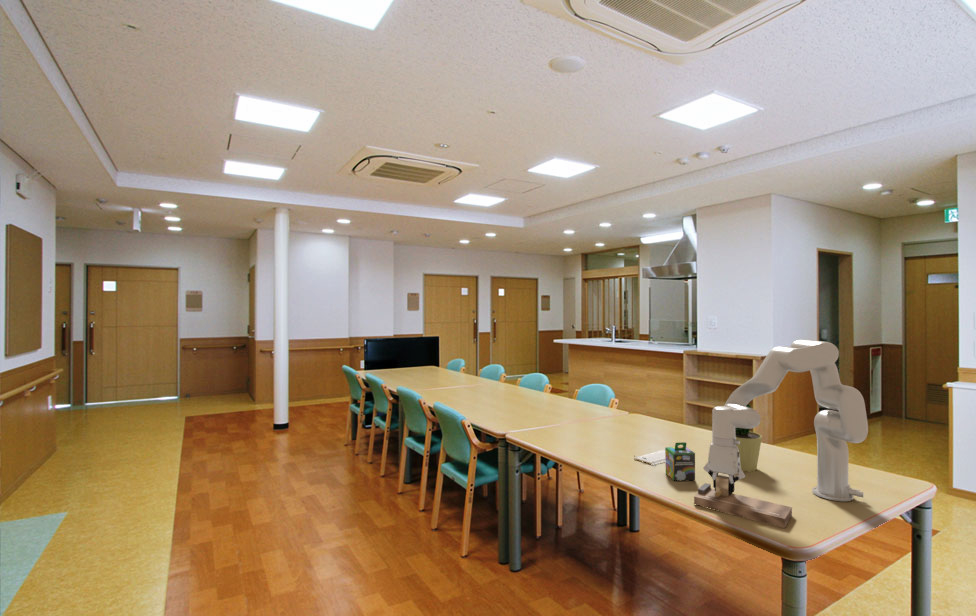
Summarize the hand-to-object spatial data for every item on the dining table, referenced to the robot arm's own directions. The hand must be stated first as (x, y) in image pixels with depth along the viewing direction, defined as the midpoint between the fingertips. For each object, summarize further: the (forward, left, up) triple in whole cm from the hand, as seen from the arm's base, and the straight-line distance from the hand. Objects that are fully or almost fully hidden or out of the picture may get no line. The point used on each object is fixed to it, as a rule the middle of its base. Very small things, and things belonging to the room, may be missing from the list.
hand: (723, 491), depth 176 cm
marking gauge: (0, +3, -3) cm, 4 cm away
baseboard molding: (+36, -38, -5) cm, 53 cm away
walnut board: (-7, +4, -4) cm, 9 cm away
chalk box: (+21, -15, -4) cm, 26 cm away
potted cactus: (+5, -45, -4) cm, 46 cm away
